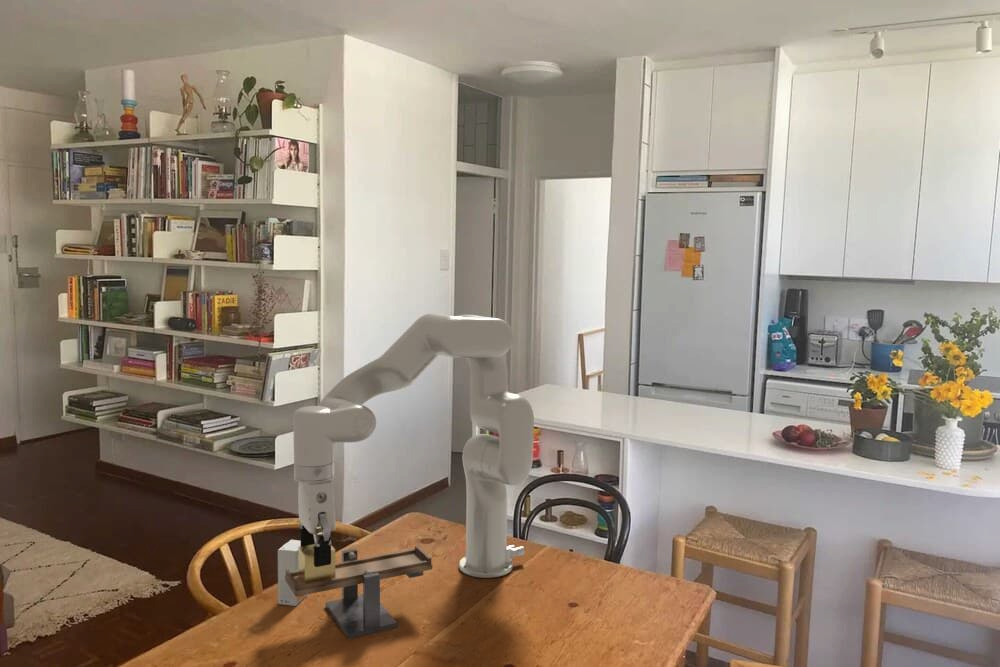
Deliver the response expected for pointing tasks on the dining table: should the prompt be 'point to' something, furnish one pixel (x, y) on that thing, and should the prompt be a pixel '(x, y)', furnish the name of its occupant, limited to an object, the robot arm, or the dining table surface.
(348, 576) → the beam
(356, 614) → the stand
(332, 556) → the block
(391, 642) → the dining table surface
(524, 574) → the dining table surface
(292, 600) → the skincare box
